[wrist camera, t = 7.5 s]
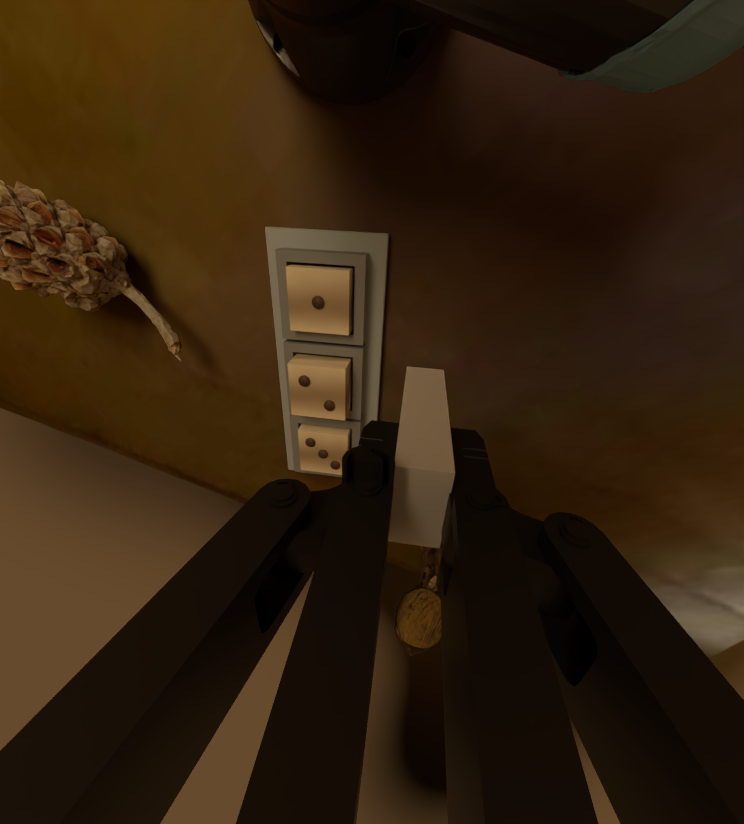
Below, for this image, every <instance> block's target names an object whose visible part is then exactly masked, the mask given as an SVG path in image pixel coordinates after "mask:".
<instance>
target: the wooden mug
mask: <svg viewBox="0 0 744 824" xmlns="http://www.w3.org/2000/svg"><path fill="white" fill-rule="evenodd" d="M420 547H421V549H422V551H423V556H422V563H421V580H420V583H419V585H418V586H415V587H412V588H410V589H409V590H407V591H406V592H404V594H403V595H402V597H401V598H400V600H399V602H398V604H397V607H396V611H395V616H394V628H395V632H396V636H397V638H398V640H399V642H400V644H401V646H402V647H403V649H404V651H405V652H406V653H407V655H408V656H412V655H416V654H420V653H422V652H425V651H427V650H429V649H431V648H432V647H434V646H435V645H436V644H437V643H438V642H439V640H440V638H441V636H442V626H441V596H440V584H436V579H437V574H438V570H439V565H440V560H441V556H442V539H441V544H440V548H432V547H425V546H420Z"/></svg>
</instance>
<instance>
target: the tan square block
mask: <svg viewBox="0 0 744 824" xmlns="http://www.w3.org/2000/svg"><path fill="white" fill-rule="evenodd" d="M286 278H287V292H288V305H289V319H290V330H292V331H304V332H315V333H327V334H339V335H349V334H350V333H351V331H352V330H353V328H354V287H355V267H353V266H338V265H323V264H308V263H294V264H291V265H289V266H286Z"/></svg>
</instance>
